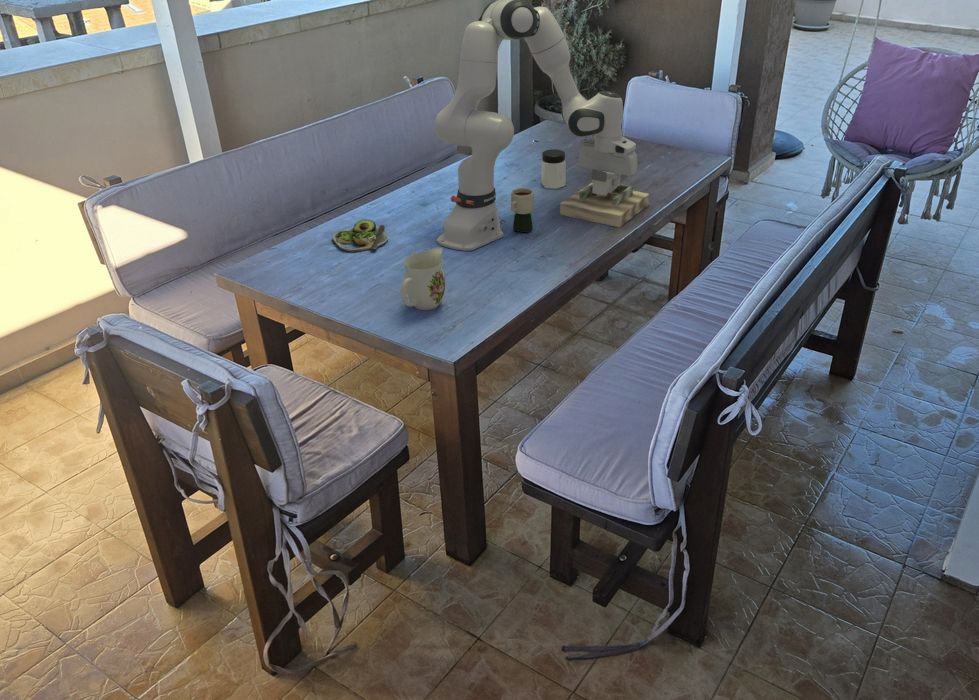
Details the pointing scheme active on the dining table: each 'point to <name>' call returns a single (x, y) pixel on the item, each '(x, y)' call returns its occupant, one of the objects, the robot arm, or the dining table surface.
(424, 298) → the pitcher
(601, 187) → the grey boxy block
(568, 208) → the dock
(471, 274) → the dining table surface
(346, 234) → the avocado toast plate
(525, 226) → the character mug
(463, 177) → the robot arm
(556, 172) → the jar
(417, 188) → the dining table surface
